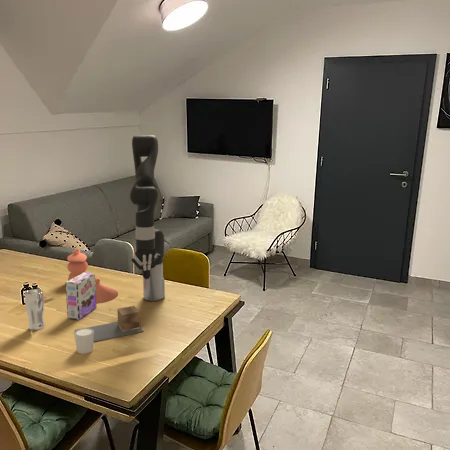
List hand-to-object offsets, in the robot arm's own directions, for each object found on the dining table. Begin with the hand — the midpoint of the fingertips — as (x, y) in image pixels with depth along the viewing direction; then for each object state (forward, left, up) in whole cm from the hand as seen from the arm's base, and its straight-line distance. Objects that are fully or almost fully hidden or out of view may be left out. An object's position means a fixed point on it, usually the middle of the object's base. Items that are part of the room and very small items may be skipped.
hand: (146, 278), depth 180 cm
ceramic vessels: (+13, -46, -20) cm, 52 cm away
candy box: (+22, -23, -20) cm, 37 cm away
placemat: (+16, 0, -20) cm, 25 cm away
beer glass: (+41, -17, -20) cm, 49 cm away
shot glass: (+27, +11, -20) cm, 35 cm away
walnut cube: (+8, 0, -19) cm, 21 cm away
